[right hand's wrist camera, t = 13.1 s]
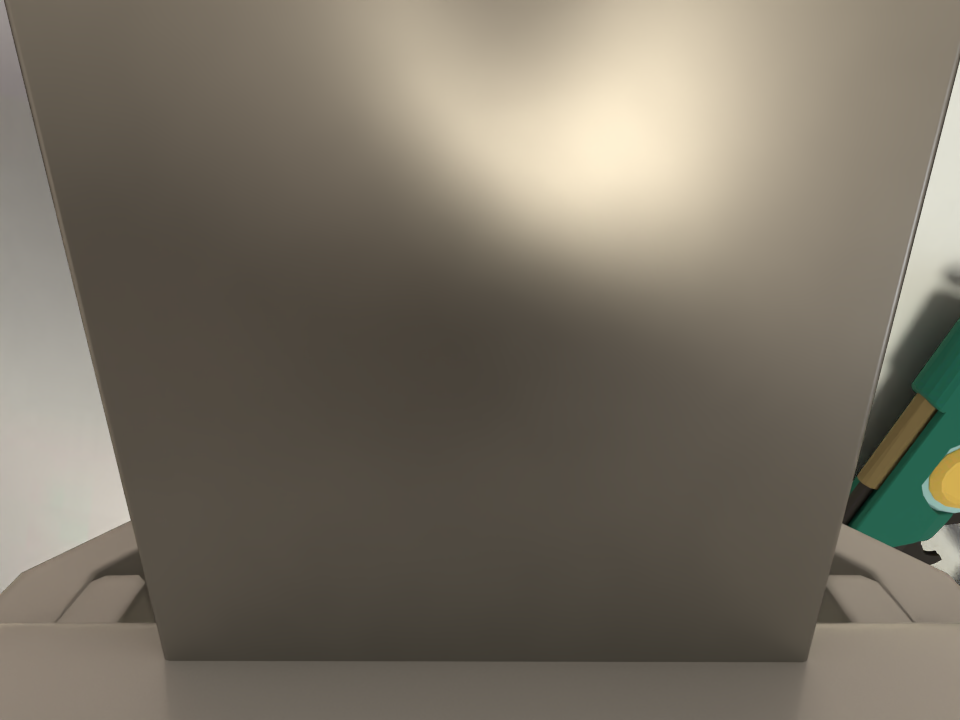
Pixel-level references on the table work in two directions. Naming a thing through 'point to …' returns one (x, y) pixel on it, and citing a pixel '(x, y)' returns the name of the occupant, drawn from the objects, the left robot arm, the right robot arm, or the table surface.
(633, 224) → the bar
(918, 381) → the spray gun
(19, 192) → the table surface
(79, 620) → the right robot arm
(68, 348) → the table surface
